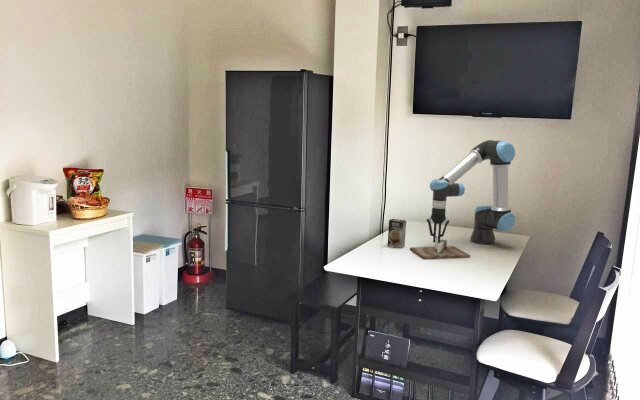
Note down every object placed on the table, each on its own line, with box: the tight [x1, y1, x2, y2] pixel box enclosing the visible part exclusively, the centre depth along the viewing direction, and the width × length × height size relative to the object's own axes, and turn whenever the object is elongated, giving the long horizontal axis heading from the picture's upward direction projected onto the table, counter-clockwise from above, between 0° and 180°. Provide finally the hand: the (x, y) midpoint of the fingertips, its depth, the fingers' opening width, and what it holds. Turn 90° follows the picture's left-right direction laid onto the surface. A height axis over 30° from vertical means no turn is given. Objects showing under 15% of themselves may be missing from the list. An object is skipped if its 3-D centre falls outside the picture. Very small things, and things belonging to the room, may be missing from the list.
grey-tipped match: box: [437, 239, 448, 253], centre depth 311 cm, size 15×4×4 cm, turn 157°
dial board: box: [409, 245, 471, 260], centre depth 309 cm, size 28×20×2 cm
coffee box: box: [387, 218, 407, 249], centre depth 322 cm, size 9×6×16 cm
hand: (436, 248), depth 308 cm, fingers closed
